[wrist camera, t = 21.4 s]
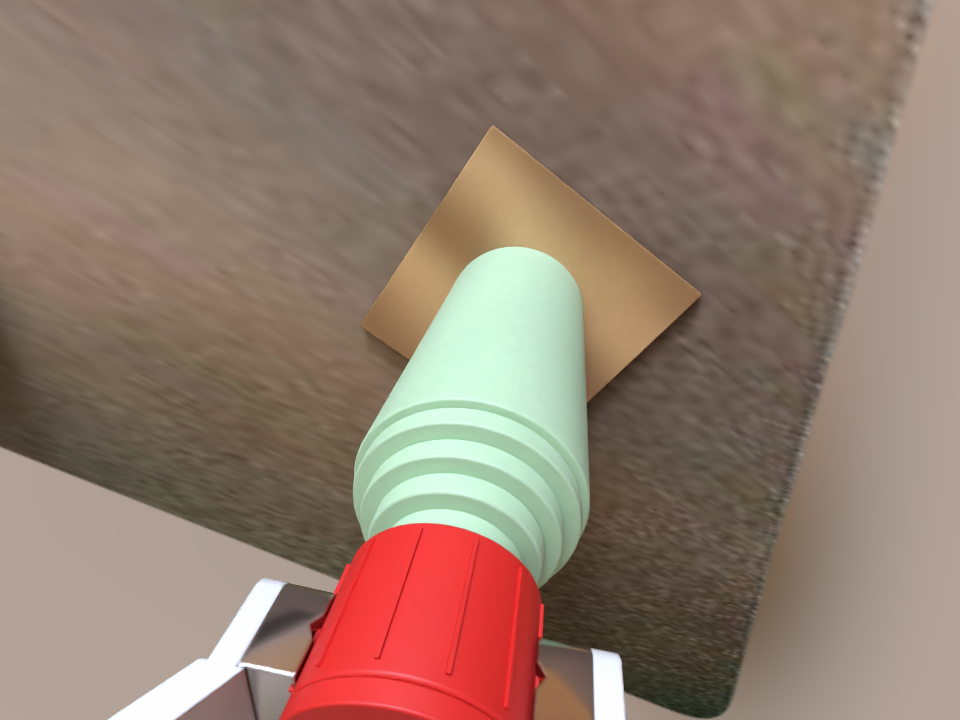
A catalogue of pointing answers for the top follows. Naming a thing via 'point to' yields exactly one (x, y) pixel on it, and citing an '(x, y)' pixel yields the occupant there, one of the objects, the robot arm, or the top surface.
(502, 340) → the sauce bottle
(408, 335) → the cork coaster
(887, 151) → the top surface
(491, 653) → the red cap
